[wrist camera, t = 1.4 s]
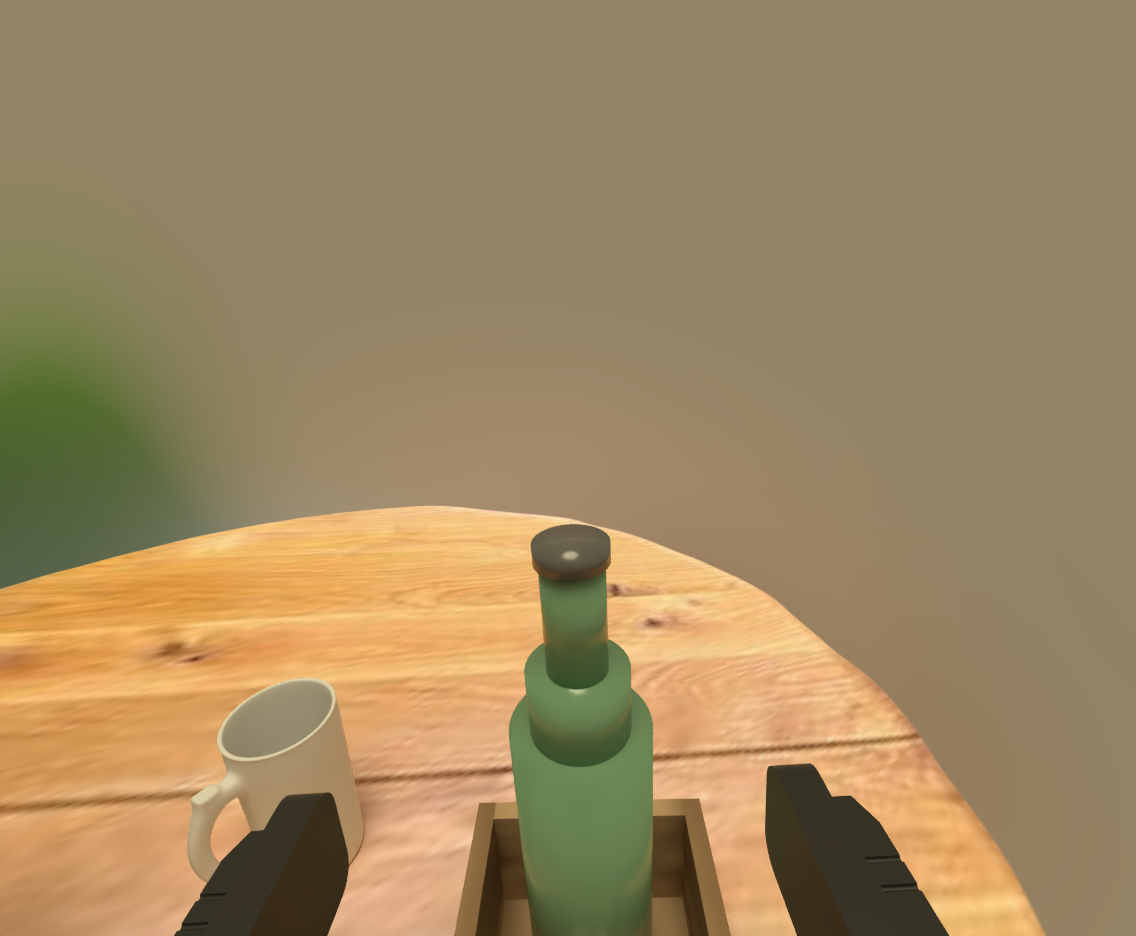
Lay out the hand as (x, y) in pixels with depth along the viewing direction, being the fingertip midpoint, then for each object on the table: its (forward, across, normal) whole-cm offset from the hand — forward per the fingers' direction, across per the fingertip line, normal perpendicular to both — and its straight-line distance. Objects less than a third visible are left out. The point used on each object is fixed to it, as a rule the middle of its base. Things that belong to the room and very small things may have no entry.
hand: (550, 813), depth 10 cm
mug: (+20, +20, +26) cm, 39 cm away
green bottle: (+13, 0, +26) cm, 29 cm away
